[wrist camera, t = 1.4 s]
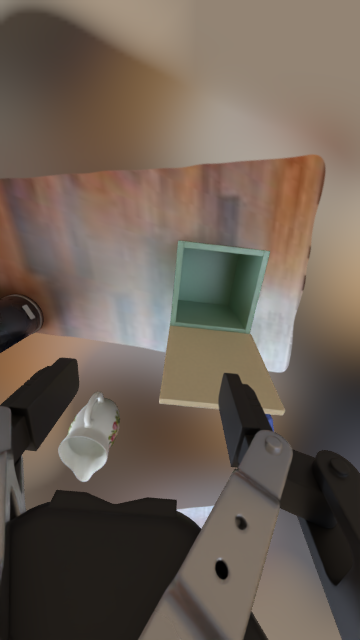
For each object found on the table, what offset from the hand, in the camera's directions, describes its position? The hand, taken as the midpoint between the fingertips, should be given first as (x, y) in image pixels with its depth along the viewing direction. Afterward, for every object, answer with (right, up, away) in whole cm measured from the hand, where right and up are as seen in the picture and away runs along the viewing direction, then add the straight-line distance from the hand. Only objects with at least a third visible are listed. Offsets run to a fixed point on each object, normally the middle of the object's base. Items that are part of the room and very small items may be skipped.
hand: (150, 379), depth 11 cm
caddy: (+7, +12, +32) cm, 35 cm away
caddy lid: (+6, -2, +15) cm, 16 cm away
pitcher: (-19, -20, +45) cm, 52 cm away
